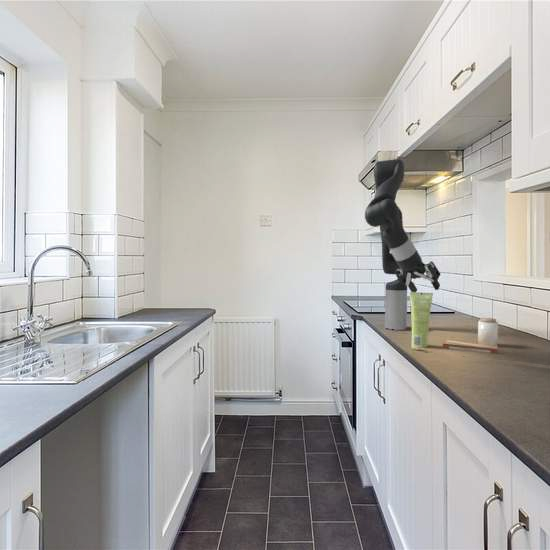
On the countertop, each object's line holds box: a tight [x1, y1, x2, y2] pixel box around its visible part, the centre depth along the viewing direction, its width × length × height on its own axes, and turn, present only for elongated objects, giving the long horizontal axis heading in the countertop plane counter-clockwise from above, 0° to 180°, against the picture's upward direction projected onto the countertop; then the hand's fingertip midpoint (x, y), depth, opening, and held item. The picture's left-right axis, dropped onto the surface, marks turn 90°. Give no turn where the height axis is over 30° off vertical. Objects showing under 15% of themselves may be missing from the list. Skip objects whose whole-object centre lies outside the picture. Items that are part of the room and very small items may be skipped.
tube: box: [409, 291, 434, 351], centre depth 131 cm, size 6×5×20 cm
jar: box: [477, 317, 499, 347], centre depth 133 cm, size 6×6×9 cm
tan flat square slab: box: [442, 339, 499, 354], centre depth 131 cm, size 15×16×2 cm
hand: (426, 290), depth 134 cm, fingers open, 8 cm apart
